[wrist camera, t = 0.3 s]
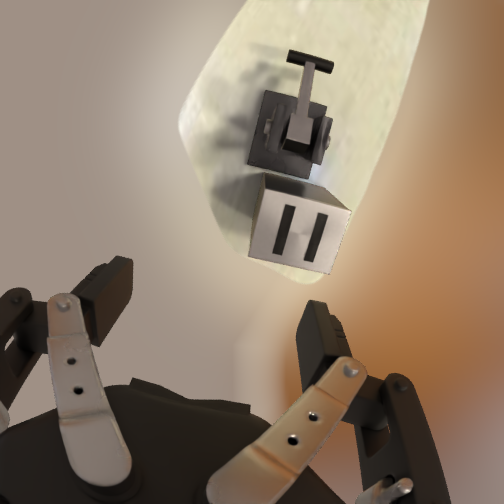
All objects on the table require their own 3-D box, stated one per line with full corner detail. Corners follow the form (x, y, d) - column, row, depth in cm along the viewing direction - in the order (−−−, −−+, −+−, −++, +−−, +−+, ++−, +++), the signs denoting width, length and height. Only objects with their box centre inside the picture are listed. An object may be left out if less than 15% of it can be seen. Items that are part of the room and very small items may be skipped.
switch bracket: (265, 91, 33) (267, 69, 21) (325, 107, 33) (356, 95, 22) (247, 163, 37) (241, 177, 25) (306, 178, 37) (328, 199, 25)
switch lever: (286, 57, 27) (290, 44, 24) (329, 69, 27) (335, 57, 25) (266, 145, 26) (269, 134, 23) (317, 158, 26) (325, 149, 24)
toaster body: (263, 171, 37) (264, 188, 26) (325, 187, 38) (352, 211, 26) (251, 220, 40) (247, 257, 28) (311, 234, 40) (329, 275, 29)
